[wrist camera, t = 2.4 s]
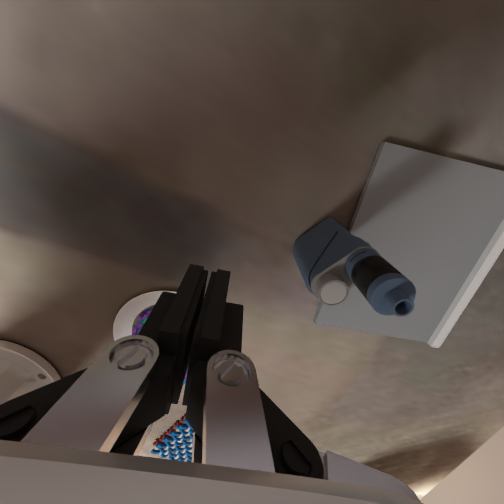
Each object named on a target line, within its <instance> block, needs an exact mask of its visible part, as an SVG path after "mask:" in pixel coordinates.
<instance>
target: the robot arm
mask: <svg viewBox="0 0 504 504" xmlns="http://www.w3.org/2000/svg"><path fill="white" fill-rule="evenodd" d="M203 269H204V266H198V265H193V264H190V266H189V268H188V270H187V272H186V274H185V276H184V278H183V280H182V282H181V284H180V286H179V289H178V291H177V293H171V292H166V291H163V292H162V294H161V295H160V297H159V299H158V300H157V302H156V304H155V306H154V307H153V309H152V311H151V313H150V314H149V316H148V318H147V320H146V321H145V323H144V325H143V327H142V328H141V330H140V332H139V334H138V335H129V336H126V337H122V338H120V339H118V340H116V341H114V342H113V343H111V344H110V345H109V346H108V347H107V348H106V349H105V350H104V351H103V352H102V353H101V354H100V356H99V357H98V358H97V359H96V360H95V361H94V362H93V363H92V364H91V365H90V366H89V367H88V368H86V369H84V370H81V371H79V372H76V373H74V374H72V375H69V376H67V377H64V378H62V379H61V378H60V376H59V375H58V373H57V371H56V370H55V369H54V368H53V367H52V365H51V364H50V363H49V362H48V361H46V360H45V359H44V358H42V357H41V356H40V355H38V354H37V353H35V352H33V351H32V350H30V349H28V348H25V347H23V346H21V345H18V344H15V343H12V342H8V341H3V340H0V504H423V503H421V502H420V500H419V499H418V497H417V496H416V494H415V493H414V491H413V490H411V489H410V488H409V487H408V486H407V485H406V484H405V483H404V482H403V481H401V480H399V479H398V478H396V477H394V476H392V475H389V474H387V473H384V472H382V471H379V470H377V469H374V468H371V467H369V466H366V465H364V464H361V463H359V462H356V461H354V460H351V459H349V458H346V457H343V456H341V455H338V454H336V453H333V452H331V451H328V450H327V451H326V453H322V452H320V451H318V450H317V449H316V447H315V446H314V445H313V443H312V442H311V441H310V440H309V439H308V438H307V437H306V436H305V435H304V434H303V432H302V431H301V430H300V429H299V428H298V427H297V426H296V425H295V424H294V423H293V422H292V421H291V420H290V419H289V418H288V417H287V416H286V415H285V414H284V413H283V412H282V411H281V410H280V409H279V408H278V407H277V406H276V405H275V404H274V402H273V401H272V400H271V399H270V398H269V397H268V396H267V395H266V394H265V393H264V392H263V391H262V390H261V389H260V388H259V384H258V379H257V374H256V369H255V366H254V364H253V362H252V361H251V360H250V358H249V357H247V356H246V355H245V354H243V353H241V346H242V325H243V305H239V304H233V303H228V302H226V297H227V291H228V285H229V278H230V271H225V270H220V269H218V270H217V272H212V273H211V277H210V280H209V284H208V287H207V290H206V294H205V297H204V293H205V287H206V281H207V275H208V271H206V270H203ZM203 299H204V301H203ZM188 364H189V365H188ZM187 368H188V372H187V378H186V384H185V391H184V397H183V404H182V405H187V411H186V417H185V418H186V420H187V421H188V423H189V424H190V426H191V427H192V429H193V430H194V435H193V448H192V462H184V461H176V460H168V459H160V458H151V457H143V456H138V455H139V453H140V451H141V449H142V447H143V445H144V443H145V441H146V439H147V437H148V435H149V433H150V431H151V428H152V425H153V422H155V421H157V420H158V419H160V418H161V417H163V416H164V415H165V414H168V413H169V410H170V406H171V403H173V404H177V403H178V400H179V397H180V393H181V389H182V386H183V382H184V379H185V375H186V371H187Z"/></svg>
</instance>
